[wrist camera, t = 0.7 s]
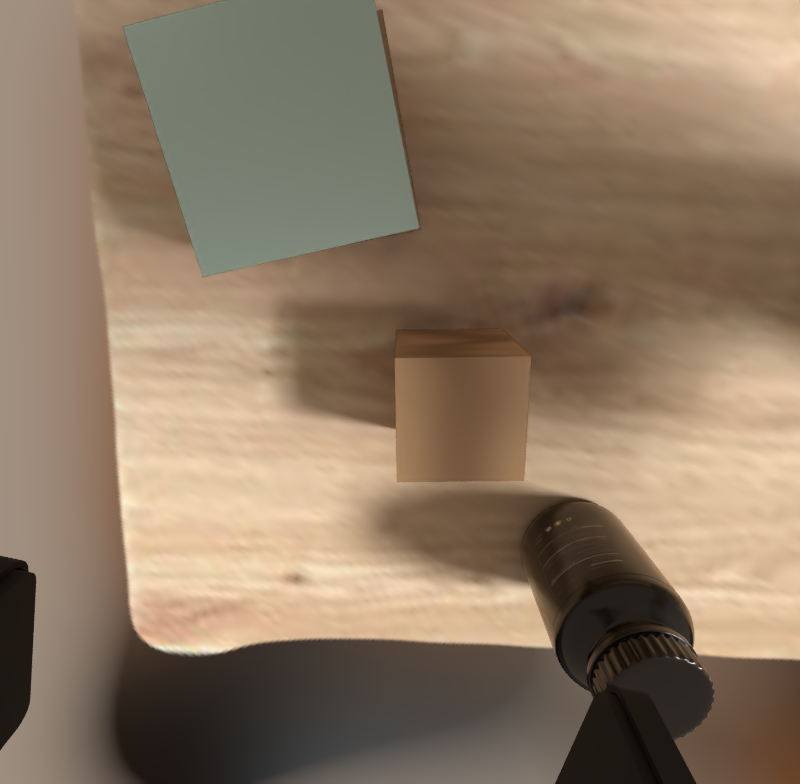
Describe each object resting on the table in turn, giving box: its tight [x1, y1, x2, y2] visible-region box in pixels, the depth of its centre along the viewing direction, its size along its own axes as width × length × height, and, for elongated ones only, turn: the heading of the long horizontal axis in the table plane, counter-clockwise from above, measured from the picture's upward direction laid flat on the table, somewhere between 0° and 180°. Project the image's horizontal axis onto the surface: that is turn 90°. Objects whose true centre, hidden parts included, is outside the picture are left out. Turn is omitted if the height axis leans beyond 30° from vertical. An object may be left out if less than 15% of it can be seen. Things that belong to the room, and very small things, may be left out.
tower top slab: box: [123, 0, 419, 277], centre depth 22 cm, size 9×9×4 cm
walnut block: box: [395, 329, 531, 482], centre depth 27 cm, size 6×6×7 cm
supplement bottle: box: [521, 501, 715, 740], centre depth 28 cm, size 7×7×12 cm
